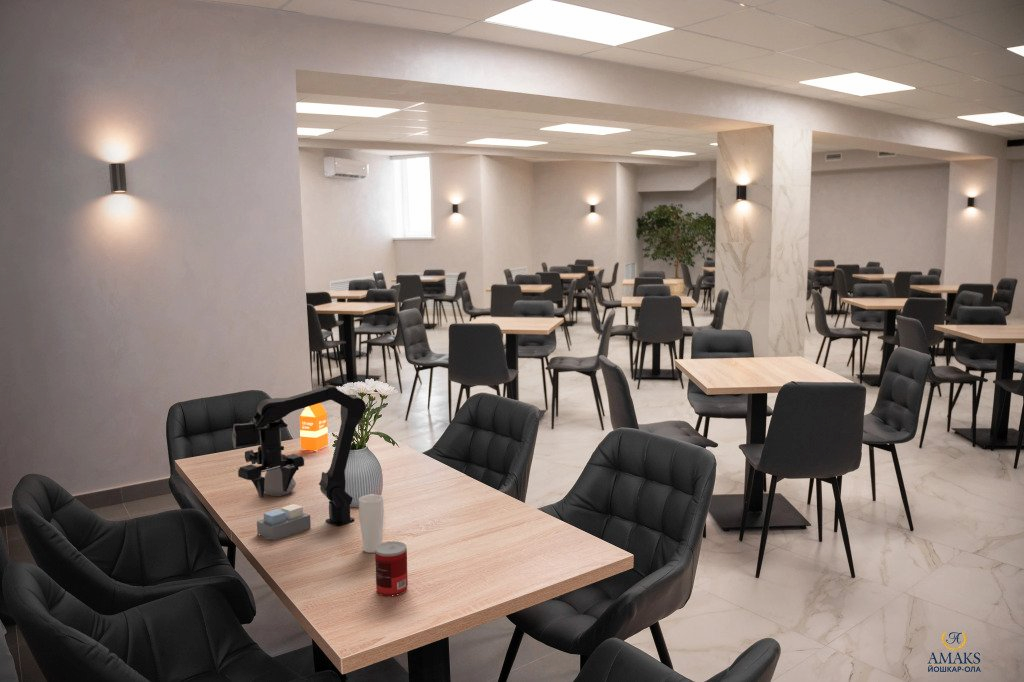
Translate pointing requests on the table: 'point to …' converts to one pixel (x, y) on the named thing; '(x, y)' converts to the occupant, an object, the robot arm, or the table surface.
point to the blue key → (274, 517)
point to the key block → (283, 527)
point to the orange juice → (313, 427)
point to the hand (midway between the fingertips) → (273, 494)
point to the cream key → (293, 511)
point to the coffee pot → (276, 483)
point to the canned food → (391, 568)
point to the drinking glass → (371, 521)
